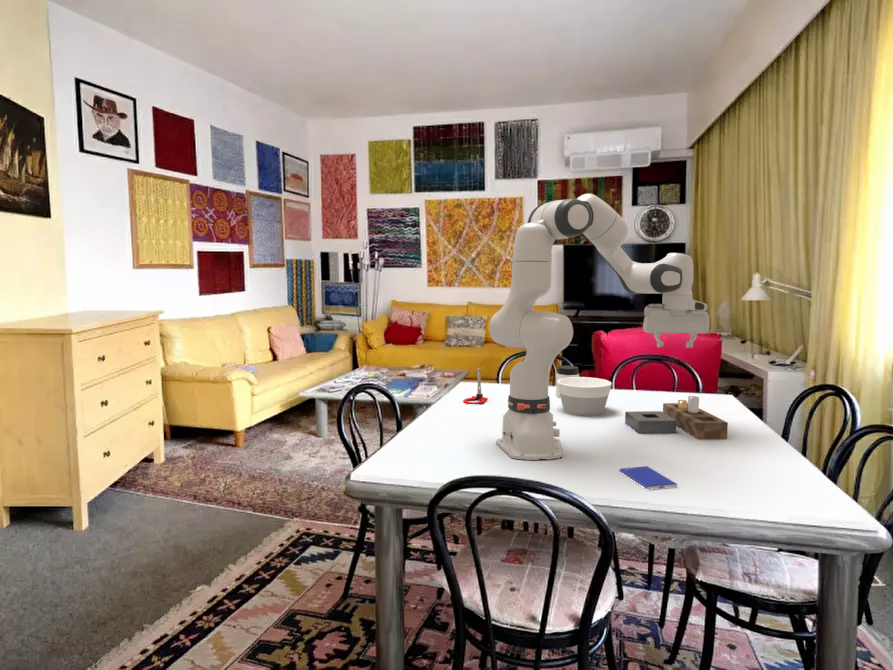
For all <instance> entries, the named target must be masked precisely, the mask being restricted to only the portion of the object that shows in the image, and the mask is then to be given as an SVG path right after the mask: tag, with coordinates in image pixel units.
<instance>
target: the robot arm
mask: <svg viewBox="0 0 893 670" xmlns="http://www.w3.org/2000/svg"><path fill="white" fill-rule="evenodd" d="M582 234H583V235H584V236H585V237H586V238H587V240H589V241H590V242H591V243H592V245H594V246H595V249H596V251H597V253H598V254H599V255H600V256H601V258H602V259H603V260H604V261H605V262H606V263H607V265H609V267H610V268H611V270H612V271H613V272H614V273H615V274H616V275H617V277H618V278H619V280H620V283H621V285H622V288H623V289H624V290H625V291H626V292H627V293H629V294H630V295H631V294H632V295H642V294H649V295H650V294H653V295H654V294H657V295H659V294H660V295H661V294H662V299H661V300H662V303H649V304H648V305H646V306H645V307H644V310H643V315H644V318H643V325H642V330H643V332H645V333H647V334H648V333H649V334H653V337H654V339H655V341H656V347H657V348H664V347H665V346H664V344H665V343H664V341H662V340H661V339H660V337H661V336H662V335H661V334H689V337H690V338H689V340H688V341H686V342H685V347H686V348H687V349H689V348H690V349H691V348H693V347H694V342H695V341H696V339H697V337H698V335H699V334H700V335H701V334H702V335H705V334H708V332H709V330H710V317H709V313H708V312H707V310H708V304H707V303H704V302H702V301H700V300H699V301H698V300H695V299H693V290H692V287H693V283H694V262H693V258H692V256H690V255H689V254H687V253H684V252H674V251H673V252H669V253H667V254H666V256H665V257H663V258H662V259H660V260H658V261H655V262H650V263H646V262H644V263H643V262H642V263H641V262H637V261H634V260H632V259H631V258H630V256H628V254H627V253H626V252H625V251H624V250H623V248H622V247H621V246H622V245H623V244H624V242H625V241H626V239H627V238H628V237H627V236H628V225H627V222H626V221H625V220H624V218H622V216H621V215H620V214H619V213H618V212H617V211H616V210H615V209H614V208H613V207H612V206H610V205H609V204H608V202H607V203H606V202H605V201H604V200H603V199H601V198H600V197H598V196H597V195H595V194H593V193H584V194H581V195H580V196H578V197H577V198H566V199H560V200H559V199H557V200H552V201H549V202H546V203H542V204H540V205H538V206H536V207H534V209H533V210H531V212H530V214H529V216H528V219H527V222H526V223H524V224H522V225H520V226H518V228H517V230H516V233H515V237H514V243H513V251H512V263H511V266H512V267H511V268H512V269H511V283H510V289H509V293H508V296H507V299H506V300H505V303H504V304H503V306H502V307H501V308H499V310H498V311H496V312H495V313H494V314H493V316H491V319H490V321H489V327H488V331H489V336H490V338H491V339H492V341H493V342H494V343H496V344H499V345H502V346H505V347H507V348H516V349H526V353H525V357H524V358H523V360H521V361H519V362H517V363H515V364H514V366H512V367H511V369H510V373H509V395H507V396H508V399H507V408H508V409H507V411H506V412H505V413H504V414H503V415H502V428H501V429H502V432H501V438H497V439H496V440H495V441H496V442H495V443H496V445H497V446H498V447H500V449H501V450H502V451H503V452H505V453H506V454H507V455H508V456H509V457H510V458H512V459H514V460H515V459H516V460H524V459H525V461H528V460H529V461H530V460H531V461H540V460H539V459H547V460H556V459H560V457H561V458H562V457H563V452H562V445H561V439H560V435H561V434H560V432H561V430H560V429H559V428H554V427H556V426H557V421H554V414H553V413H552V412H551V411H550V410H551V401H550V400H551V399H550V396H549V385H550V384H549V383H550V372H551V368H552V365H553V362H554V360H555V359H556V357H557V356H558V355H559V354H560V353H561V352H562V351H564V349H566V348H567V347H568V346H569V345H570V343H571V342H572V339H573V337H574V327H573V324H572V322H571V321H572V320H570V318H569V317H568V316H566V315H564V314H562V313H561V314H560V313H556V312H553V311H539V310H534V307H535V304H536V302H537V300H538V299H540V298H541V297H544V296H545V295H546V294H547V293H548V292H549V291H550V289H551V286H552V284H551V283H552V259H553V258H552V256H553V255H552V249H553V245H554V243H555V241H557V240H558V241H559V240H566V239H569V238H575V237H576V238H577V237H578V236H580V235H582ZM555 458H556V459H555Z"/></svg>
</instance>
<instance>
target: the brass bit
mask: <svg viewBox="0 0 893 670" xmlns="http://www.w3.org/2000/svg"><path fill="white" fill-rule="evenodd" d="M677 403H678V408H687V403H688V400H687V399H678V400H677Z"/></svg>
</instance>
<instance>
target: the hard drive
mask: <svg viewBox="0 0 893 670" xmlns="http://www.w3.org/2000/svg"><path fill="white" fill-rule="evenodd" d="M619 472H621V473H623V474H624V475H626V476H627V477H629V478H630V479H632V480H633V481H635V482H636V483H638V484H640V485H641V486H643V487H644V488H645V489H652V488H653V489H654V490H656V489H655V488H664V489H667V488H666V487H675V488H678V483H677V482H675V481H673V480H671V479H670V478H668V477H666V476H665V475H663V474H661V473H659V472H658V471H656V470H654V469H653V468H651V467H650V466H647V465H646V466H645V465H644V466H636V467H635V466H634V467H625V468H623V467H621V468H619V470H618V473H619ZM621 473H620V474H621ZM624 475H623V476H624ZM627 477H626V478H627ZM630 479H629V480H630ZM633 481H632V482H633ZM636 483H635V484H636ZM641 486H640V487H641ZM644 488H643V489H644ZM645 489H644V490H645Z"/></svg>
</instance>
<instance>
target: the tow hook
mask: <svg viewBox="0 0 893 670" xmlns="http://www.w3.org/2000/svg"><path fill="white" fill-rule="evenodd" d="M480 369H481V368H480V367H479V368H478V367H477V377H476V378H477V388H476V389H477V393H476V394H475V396H474V395H472V396H471V397H467V398H465V399H463V400H462V403H463V402H464V403H466V404H465V405H468V404H480V405H483V404H485V403H486V402H488V401H487V400H489V397H484V396H483V395H484V394H483V393H482V384H481V383H482V382H481V381H482V380H481V378H482V377H481V370H480ZM469 400H471V401H469ZM479 400H480V401H479ZM464 403H463V404H464ZM482 403H483V404H482Z"/></svg>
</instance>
